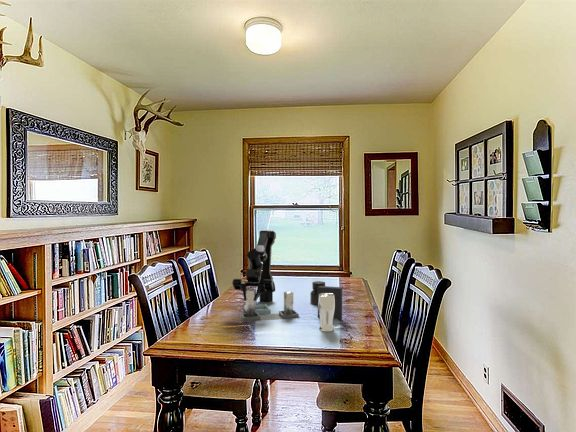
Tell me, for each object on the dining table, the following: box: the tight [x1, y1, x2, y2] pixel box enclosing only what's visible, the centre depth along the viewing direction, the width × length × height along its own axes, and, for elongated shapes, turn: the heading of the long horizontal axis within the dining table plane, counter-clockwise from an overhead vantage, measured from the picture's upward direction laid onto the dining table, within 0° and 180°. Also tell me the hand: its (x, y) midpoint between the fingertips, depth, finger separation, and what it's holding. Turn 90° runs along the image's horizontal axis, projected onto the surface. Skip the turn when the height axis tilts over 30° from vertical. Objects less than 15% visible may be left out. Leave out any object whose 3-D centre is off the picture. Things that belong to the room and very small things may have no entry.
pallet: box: [239, 309, 301, 323], centre depth 190 cm, size 27×10×2 cm, turn 104°
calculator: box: [317, 285, 343, 322], centre depth 190 cm, size 11×4×15 cm, turn 71°
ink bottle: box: [309, 280, 326, 306], centre depth 218 cm, size 10×9×12 cm
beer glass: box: [317, 293, 335, 333], centre depth 174 cm, size 7×7×15 cm
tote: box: [243, 303, 272, 315], centre depth 201 cm, size 11×11×3 cm
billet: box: [283, 290, 294, 315], centre depth 193 cm, size 4×4×11 cm
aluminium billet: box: [245, 288, 257, 315], centre depth 188 cm, size 4×4×11 cm
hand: (249, 300), depth 187 cm, fingers closed on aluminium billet, 4 cm apart
